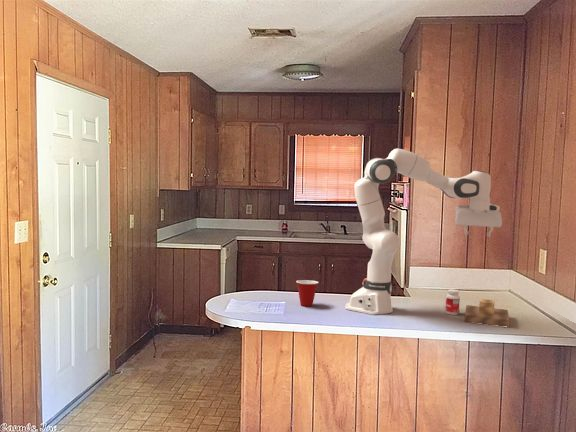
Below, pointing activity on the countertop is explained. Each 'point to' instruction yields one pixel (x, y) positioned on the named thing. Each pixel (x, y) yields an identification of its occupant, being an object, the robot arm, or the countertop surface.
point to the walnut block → (487, 316)
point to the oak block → (486, 306)
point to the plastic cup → (306, 292)
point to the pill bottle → (452, 302)
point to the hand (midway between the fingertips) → (477, 235)
